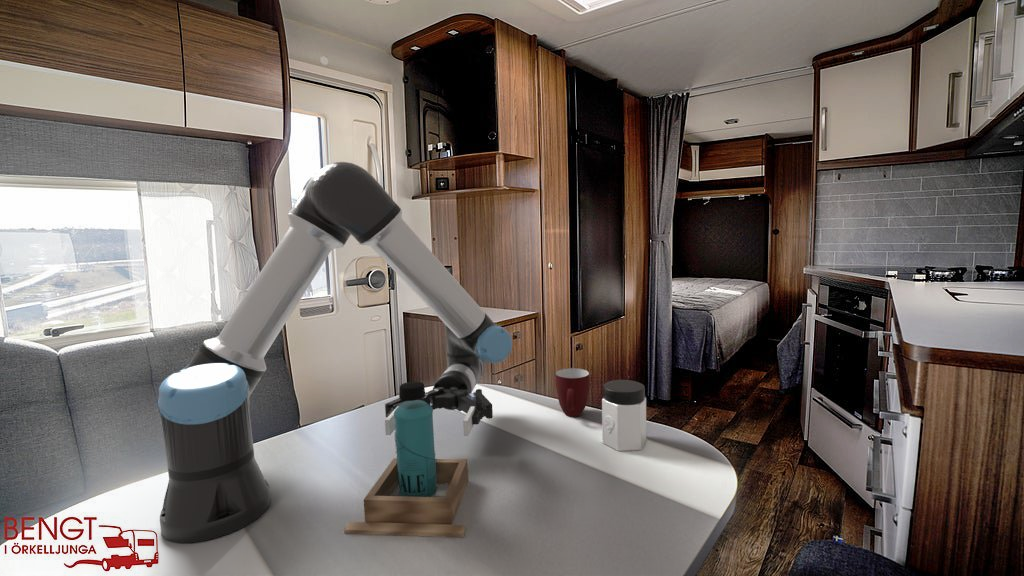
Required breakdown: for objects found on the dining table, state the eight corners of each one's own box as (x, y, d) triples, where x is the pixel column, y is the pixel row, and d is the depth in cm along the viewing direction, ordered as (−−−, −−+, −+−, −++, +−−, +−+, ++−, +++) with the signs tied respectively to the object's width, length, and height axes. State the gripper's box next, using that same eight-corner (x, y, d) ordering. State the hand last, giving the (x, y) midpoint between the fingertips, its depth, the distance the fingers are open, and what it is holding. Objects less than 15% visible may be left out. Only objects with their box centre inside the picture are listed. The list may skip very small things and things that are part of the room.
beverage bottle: (434, 486, 84) (428, 375, 81) (442, 506, 77) (435, 386, 75) (396, 494, 82) (388, 380, 79) (401, 516, 75) (393, 392, 73)
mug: (592, 424, 108) (591, 381, 106) (556, 424, 108) (555, 381, 107) (589, 407, 118) (588, 368, 117) (556, 407, 119) (555, 368, 118)
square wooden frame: (344, 533, 71) (342, 508, 71) (382, 479, 87) (381, 458, 86) (463, 537, 70) (462, 511, 69) (481, 481, 85) (480, 459, 85)
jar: (594, 439, 100) (593, 383, 99) (623, 430, 104) (622, 376, 103) (625, 456, 92) (624, 396, 91) (655, 445, 97) (655, 387, 95)
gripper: (513, 404, 101) (500, 450, 80) (399, 403, 104) (357, 447, 83) (512, 369, 100) (498, 407, 79) (396, 370, 103) (353, 406, 82)
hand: (426, 428), depth 81 cm, fingers open, 13 cm apart
